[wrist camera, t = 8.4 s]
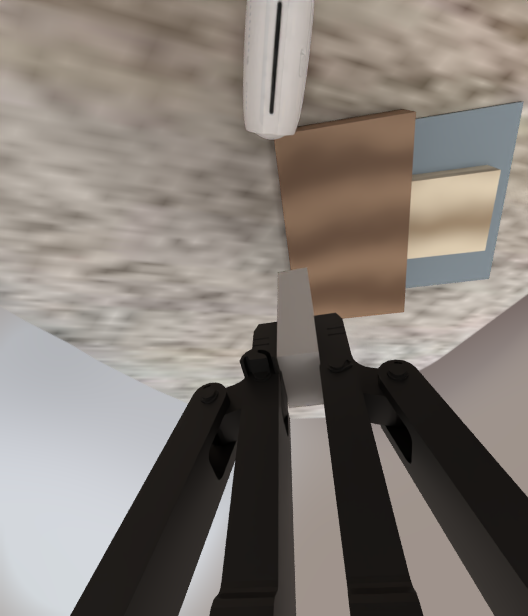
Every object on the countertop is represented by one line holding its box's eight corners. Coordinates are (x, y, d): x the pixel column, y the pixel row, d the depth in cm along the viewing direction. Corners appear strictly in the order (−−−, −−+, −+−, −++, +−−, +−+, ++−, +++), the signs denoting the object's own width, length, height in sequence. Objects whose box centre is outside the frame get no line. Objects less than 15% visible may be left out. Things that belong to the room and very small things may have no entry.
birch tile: (403, 176, 36) (411, 181, 34) (487, 164, 35) (500, 170, 33) (398, 250, 40) (405, 259, 38) (473, 241, 39) (485, 250, 37)
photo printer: (257, -16, 29) (243, -73, 18) (309, -10, 29) (326, -65, 18) (249, 126, 34) (236, 143, 24) (294, 130, 34) (300, 149, 24)
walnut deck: (274, 130, 34) (273, 135, 31) (402, 109, 33) (415, 111, 30) (296, 305, 45) (297, 323, 41) (394, 294, 43) (403, 311, 40)
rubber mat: (406, 120, 34) (408, 120, 33) (520, 101, 32) (523, 101, 32) (398, 286, 43) (400, 288, 42) (486, 276, 42) (488, 278, 41)
